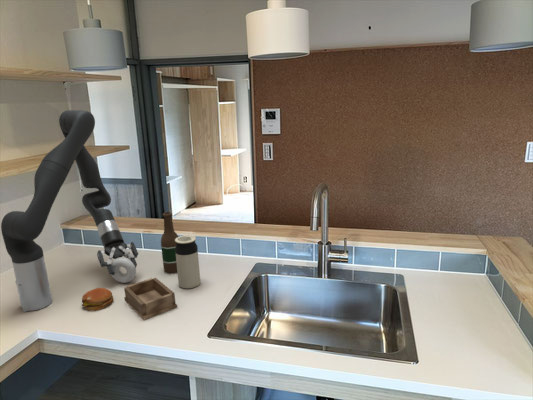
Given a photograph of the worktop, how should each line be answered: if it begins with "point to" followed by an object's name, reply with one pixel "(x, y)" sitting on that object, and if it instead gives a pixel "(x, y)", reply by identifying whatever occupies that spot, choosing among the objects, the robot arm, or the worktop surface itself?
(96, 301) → the burger
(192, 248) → the travel mug
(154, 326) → the worktop surface
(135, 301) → the walnut stand
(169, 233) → the beer bottle
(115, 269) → the donut
